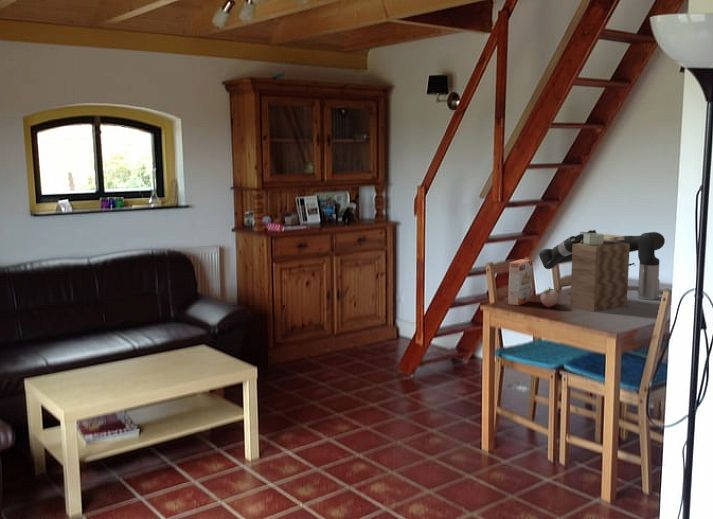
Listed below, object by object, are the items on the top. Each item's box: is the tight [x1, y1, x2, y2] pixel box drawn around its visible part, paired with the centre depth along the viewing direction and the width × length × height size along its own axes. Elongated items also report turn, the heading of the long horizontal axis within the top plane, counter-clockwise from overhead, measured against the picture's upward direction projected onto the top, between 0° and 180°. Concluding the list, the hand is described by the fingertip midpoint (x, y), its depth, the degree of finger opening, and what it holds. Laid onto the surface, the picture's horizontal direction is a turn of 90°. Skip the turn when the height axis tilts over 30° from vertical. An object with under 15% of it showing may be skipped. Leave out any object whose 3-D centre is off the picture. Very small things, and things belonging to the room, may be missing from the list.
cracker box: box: [507, 258, 533, 307], centre depth 354 cm, size 14×6×21 cm, turn 143°
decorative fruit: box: [539, 286, 560, 309], centre depth 344 cm, size 9×8×10 cm
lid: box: [579, 231, 626, 241], centre depth 351 cm, size 10×22×2 cm, turn 31°
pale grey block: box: [583, 232, 605, 246], centre depth 340 cm, size 9×9×5 cm
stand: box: [569, 241, 630, 313], centre depth 345 cm, size 23×14×30 cm, turn 121°
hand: (593, 231), depth 354 cm, fingers closed on lid, 2 cm apart
